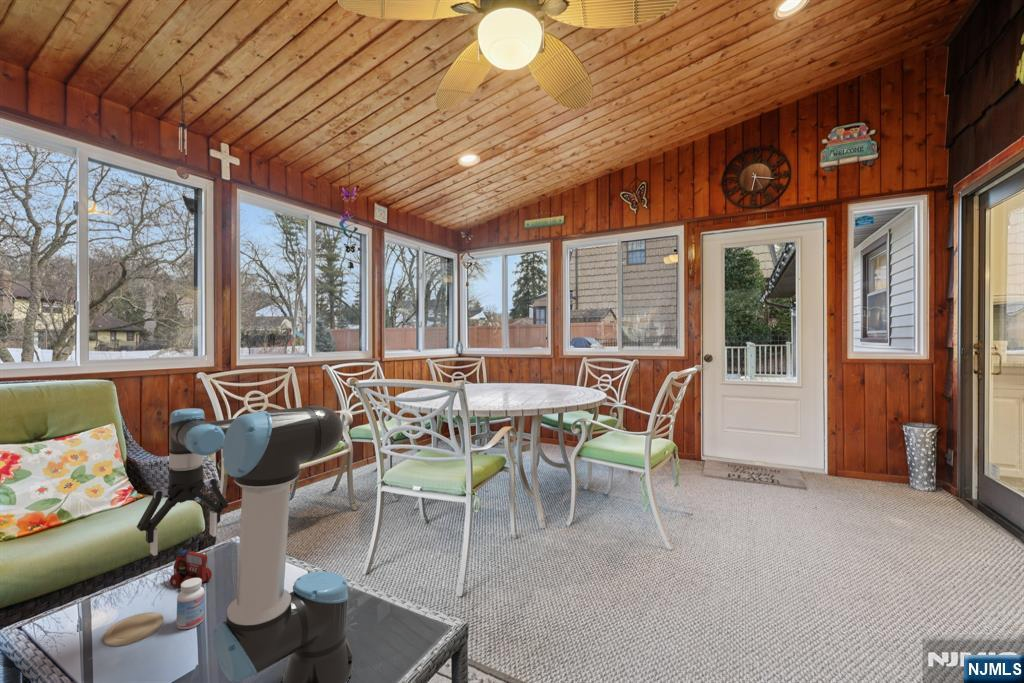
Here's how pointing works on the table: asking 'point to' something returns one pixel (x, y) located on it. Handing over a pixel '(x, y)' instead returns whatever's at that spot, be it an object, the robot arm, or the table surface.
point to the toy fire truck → (190, 568)
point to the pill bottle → (190, 604)
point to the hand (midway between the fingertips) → (184, 544)
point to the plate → (133, 629)
